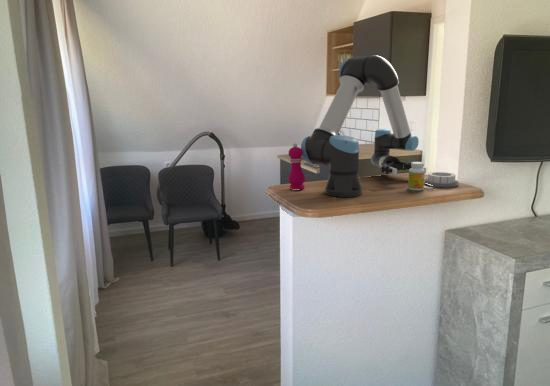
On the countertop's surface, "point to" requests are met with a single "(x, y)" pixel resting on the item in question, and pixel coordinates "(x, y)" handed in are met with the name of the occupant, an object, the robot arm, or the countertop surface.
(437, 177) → the bottle holder
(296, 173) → the pepper mill
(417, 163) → the supplement bottle
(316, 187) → the countertop surface
